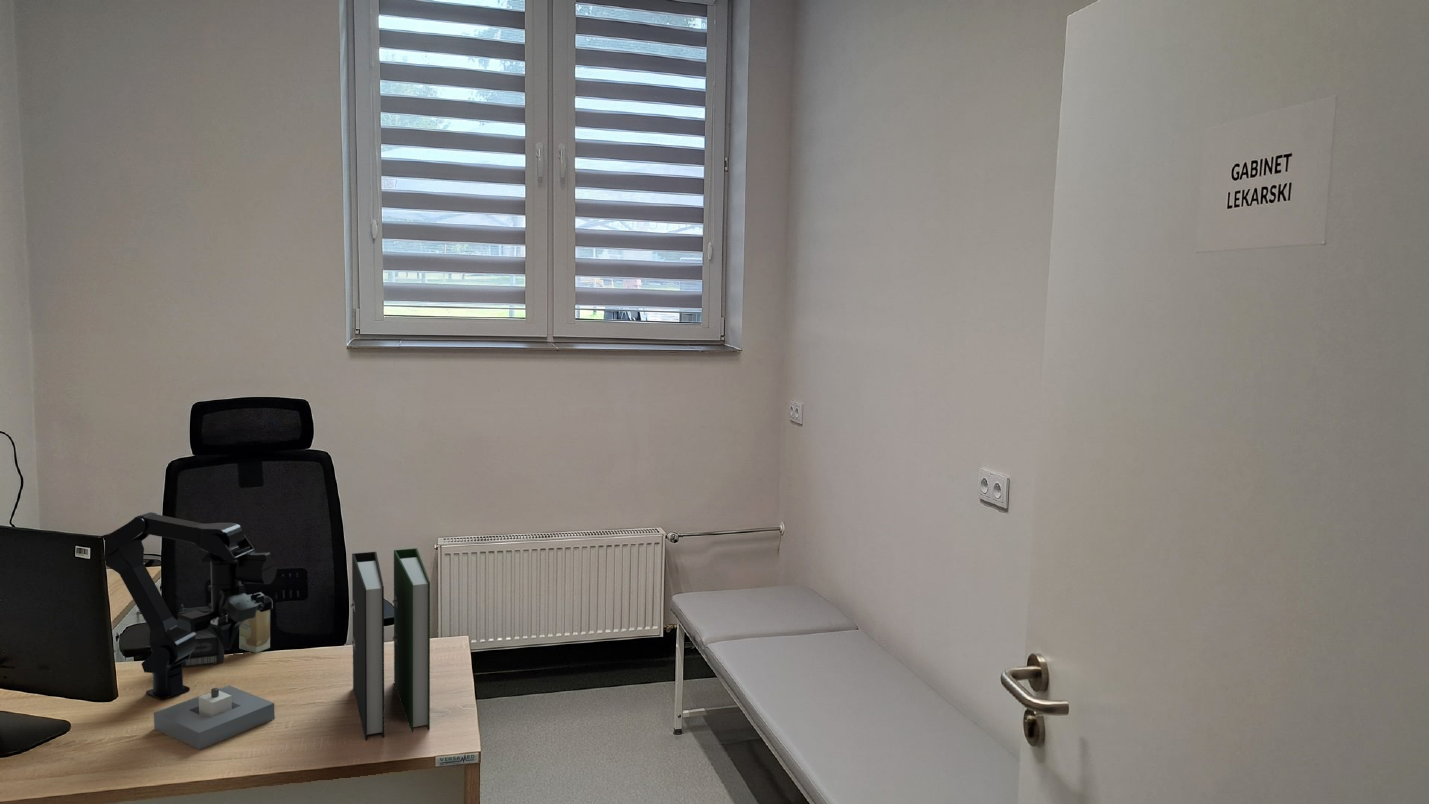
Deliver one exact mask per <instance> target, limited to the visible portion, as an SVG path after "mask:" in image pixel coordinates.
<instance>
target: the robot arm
mask: <svg viewBox="0 0 1429 804" xmlns="http://www.w3.org/2000/svg"><path fill="white" fill-rule="evenodd" d="M150 536H156V537H161V538H165V539H171V540H176V541H179V542H180V541H181V542H186V543H190V544H193V545H196V546H197V547H198V548H199V549H200V550H202V551H204V552H207V553H206V554H205V555H204V556H203V557H201V558H200V562H202V563H210V585H208V586H207V591H208V592H210V593H211V595H210V596H211V603H208V604H207V607H208V609H211V610H212V611H211V612H208V613H202V612H199V611H192V612H189V613H185V614H181V615H180V616H179V618H178V619H177V618H175V617H174V616H173V614H172V612H171V610H170V609H169V607H168V605H167V603H166V601H165V599H164V598H163V596H162V594H161V592H160V590H159V588H158V587H157V585H156V583H155V581H154V579H153V577H152V576H151V574H150V572H149V570H148V569H147V567H146V565H145V563H144V557H145V548H144V545H143V541H145V540H146V539H147V538H148V537H150ZM100 537H103V538H104V540H105V561H106V565H105V566H106V567H107V568H110V569H111V570H113V571H114V572H116V573H118V575H119V577H120V578H121V579H122V581H123V584H124V585H125V586H126V589H127V591H128V592H129V595H130V596H131V598H132V599H133V601H134V603H135V606H136V607H137V609H138V611H139V612H140V614H141V616H142V618H143V619H144V622H145V624H146V625H147V627H148V629H149V643H148V644H149V648H150V651H151V654H150V655H149V656H148V657H146V658H145V659H144V661H142V663H141V667H142V669H143V672H144V673H147V674H149V673H150V674H152V688H151V689H148V690H146V691H145V694H146V695H148V696H151V697H152V698H155V699H157V700H161V701H163V700H166V699H169V698H171V697H174V696H177V695H180V694H183V693H186V692H189V691H190V690H191V687H190V686H187V685H185V684H184V674H183V668H182V662H184V661H186V660H188V659H189V658H190V656H191V653H192V652H193V651H194V649H195V647H196V644H197V641H196V638H195V636H196V635H197V634H196V633H195V632H197V631H200V630H204V629H207V628H208V627H209V626H211V628H212V629H213V630H214V632H215V633H216V635H217V637H218V638H219V640H220V642H221V644H222V646H223V647H224V649H225V650H224V651H229V650H231V649H232V646H233V644H234V640H235V638H236V636H237V633H238V631H239V626H240V625H241V624H242V623H243V622H244V621H245V620H248V619H250V618H251V619H252V618H255V617H256V613H257V611H260V612H264V611H268V610H270V611H271V610H273V607H274V605H273V603H274V602H273V599H272V598H271V597H270V596H268V595H265V594H264V593H262V591H260V592H256V593H253V594H247V592H246V588H245V585H244V584H256V585H258V584H259V585H270V584H272V583H273V582H274V581H275V578H276V577H277V576H276V575H277V571H278V566H277V563H276V561H275V559H274V558H272V554H271V552H267V551H266V552H256V551H257V550H256V548H255V547H254V545H253V544H252V542H250V539H249V538H248V537H247V536H246V534H245V533H244V529H243V528H242V526H241V525H240V524H238V523H235V522H213V523H201V522H197V521H192V520H187V519H182V518H176V517H171V516H166V515H163V514H162V515H161V514H158V513H156V512H153V511H152V512H147V513H143V514H140V515H137V516H135V517H134V518H133V519H131V520H130V521H129V522H127V523H126V524H124V525H122V526H121V527H118V528H117V529H115V530H114V531H112V532H109V533H106V534H103V535H100ZM237 548H238V549H237ZM234 549H236V550H234ZM242 583H244V584H242Z"/></svg>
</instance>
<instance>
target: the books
mask: <svg viewBox="0 0 1429 804" xmlns="http://www.w3.org/2000/svg"><path fill="white" fill-rule="evenodd" d="M351 566H352V567H351V569H352V570H351V571H352V573H351V574H352V575H351V576H352V577H351V581H352V594H351V595H352V602H351V605H349V606H350V608H351V609H352V640H351V642H350V645H351V646H352V689H353V693H354V697H355V702H356V706H357V711H358V714H359V715H358V716H359V719H360V724H361V728H362V732H363V736H364V740H365V741H368V735H373V734H379V733H381V734H382V738H385V618H384V617H385V612H384V611H385V598H384V597H385V596H384V594H385V591H384V589H385V586H384V582H383V577H382V572H381V568H380V563H379V558H378V554H377V551H366V552H355V553H351ZM392 603H393V637H392V640H393V683H394V682H395V683H394V686H395V685H396V686H395V688H397V689H396V692H397V691H398V692H397V694H399V695H398V698H399V697H400V698H399V700H401V701H400V703H402V704H401V706H403V707H402V709H403V712H404V715H405V717H406V721H407V723H409V724H408V727H409V729H411V730H410V732H412V733H414V728H415V727H420V726H421V727H423V726H426V727H427V726H428V727H427V730H428V729H431V727H430V725H431V724H430V723H431V721H430V719H431V717H430V716H431V715H430V714H431V713H430V711H431V703H430V701H431V700H430V699H431V687H430V685H431V684H430V683H431V681H430V680H431V667H430V666H431V652H430V651H431V650H430V649H431V581H430V579H429V576H428V573H427V571H426V568H425V565H424V563H423V559H422V557H421V554H420V552H419V550H418V547H417V548H416V547H415V548H404V549H394V550H393V600H392ZM412 733H411V734H412Z"/></svg>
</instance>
